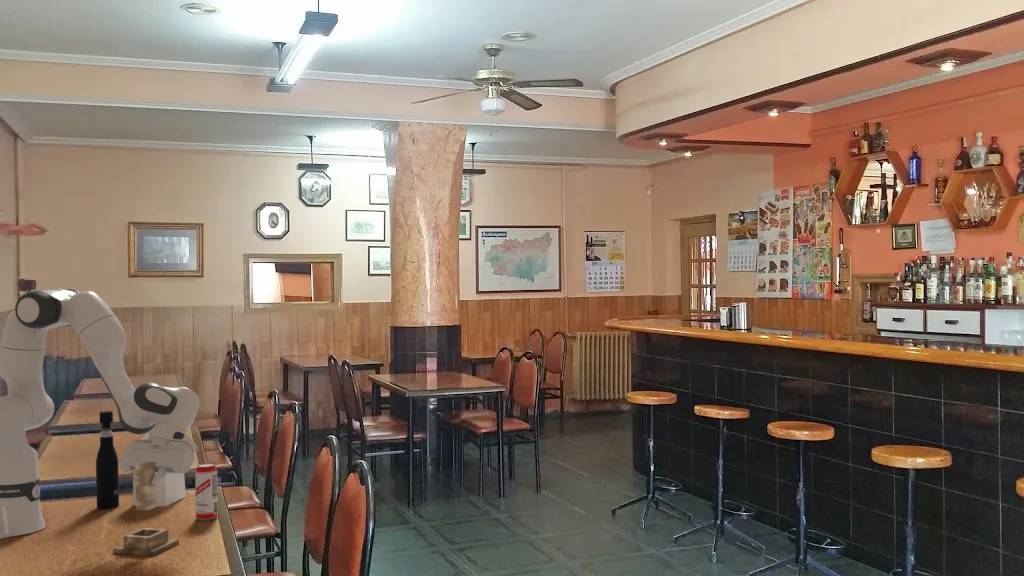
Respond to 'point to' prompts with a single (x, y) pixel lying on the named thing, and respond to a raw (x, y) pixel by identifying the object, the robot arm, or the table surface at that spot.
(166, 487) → the milk
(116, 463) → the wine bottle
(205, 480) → the beer can
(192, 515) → the table surface
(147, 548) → the wooden socket base
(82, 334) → the robot arm
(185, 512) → the table surface
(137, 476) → the beige rectangular block
